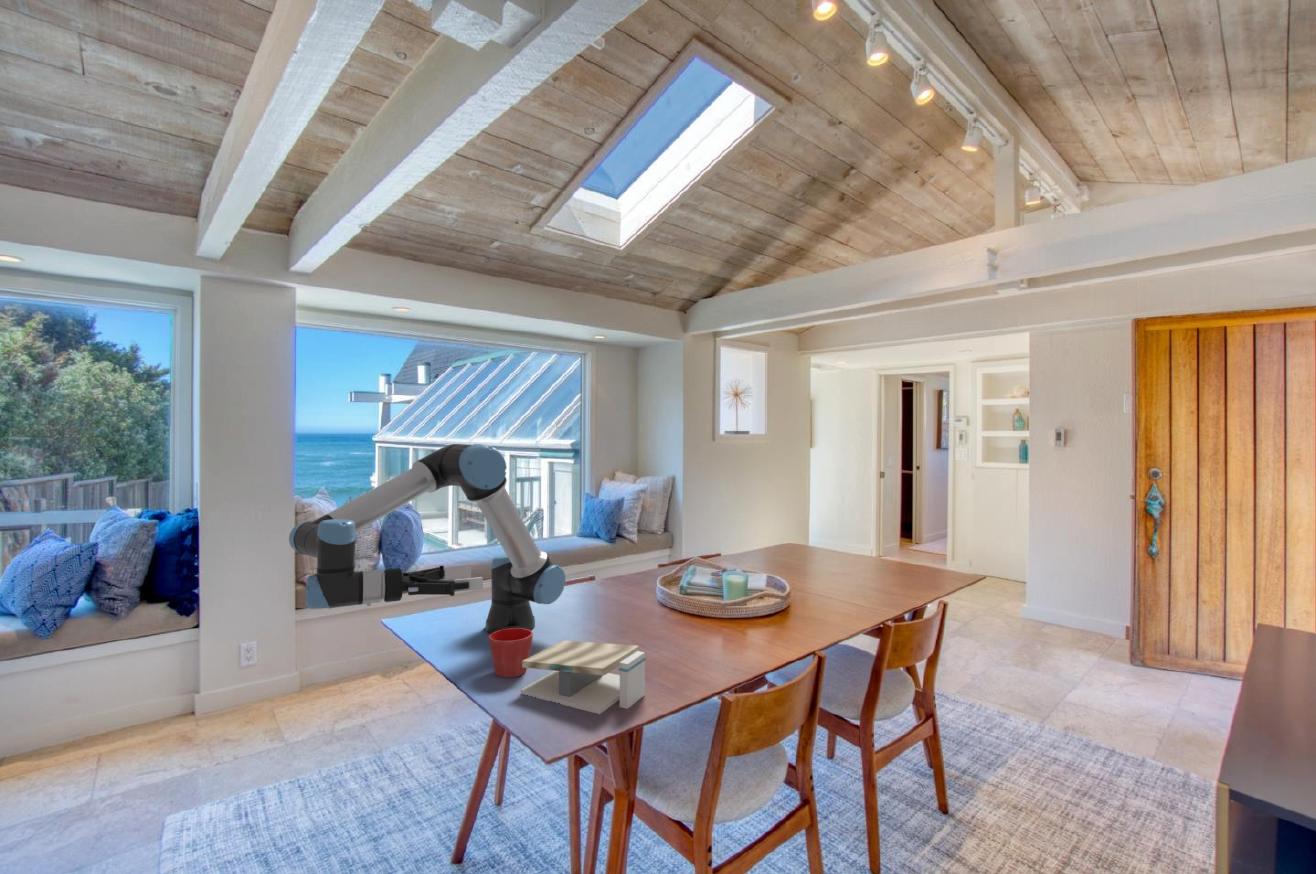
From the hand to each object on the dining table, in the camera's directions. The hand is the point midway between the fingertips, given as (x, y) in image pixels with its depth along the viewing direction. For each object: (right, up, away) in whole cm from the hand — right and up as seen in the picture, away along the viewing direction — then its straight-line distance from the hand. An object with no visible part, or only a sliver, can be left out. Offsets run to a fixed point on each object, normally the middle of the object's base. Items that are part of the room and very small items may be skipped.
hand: (476, 577), depth 149 cm
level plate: (+27, -18, -6) cm, 33 cm away
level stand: (+29, -25, -7) cm, 39 cm away
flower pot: (+8, -25, +4) cm, 27 cm away
